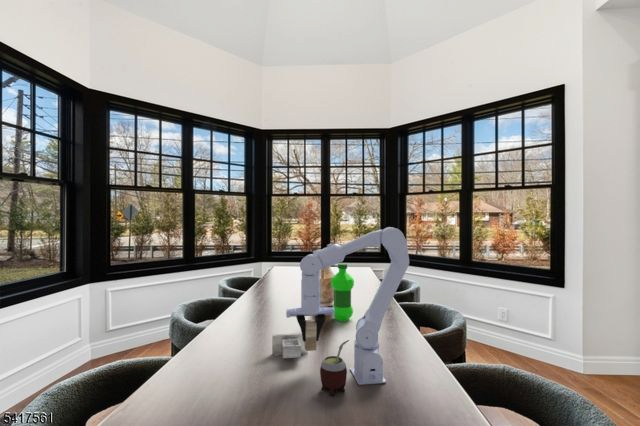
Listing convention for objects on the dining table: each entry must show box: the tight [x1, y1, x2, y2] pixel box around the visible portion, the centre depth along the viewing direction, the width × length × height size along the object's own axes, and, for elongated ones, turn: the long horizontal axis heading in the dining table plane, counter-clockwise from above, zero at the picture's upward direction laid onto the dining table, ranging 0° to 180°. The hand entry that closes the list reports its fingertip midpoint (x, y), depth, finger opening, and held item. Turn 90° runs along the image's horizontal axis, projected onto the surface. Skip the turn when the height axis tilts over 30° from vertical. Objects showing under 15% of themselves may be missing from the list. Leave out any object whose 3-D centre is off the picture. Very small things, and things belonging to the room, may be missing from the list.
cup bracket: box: [271, 332, 309, 359], centre depth 104 cm, size 8×12×6 cm
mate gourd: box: [319, 339, 350, 398], centre depth 85 cm, size 8×8×15 cm
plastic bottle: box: [330, 263, 355, 322], centre depth 145 cm, size 10×10×25 cm
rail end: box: [304, 319, 317, 352], centre depth 96 cm, size 3×3×8 cm
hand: (310, 340), depth 96 cm, fingers closed on rail end, 3 cm apart
